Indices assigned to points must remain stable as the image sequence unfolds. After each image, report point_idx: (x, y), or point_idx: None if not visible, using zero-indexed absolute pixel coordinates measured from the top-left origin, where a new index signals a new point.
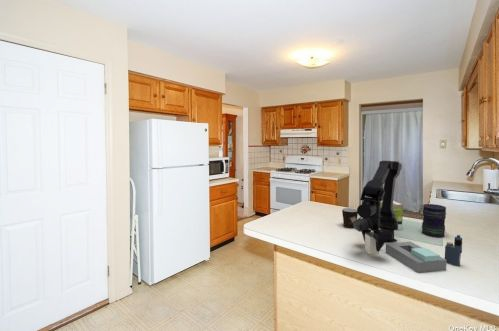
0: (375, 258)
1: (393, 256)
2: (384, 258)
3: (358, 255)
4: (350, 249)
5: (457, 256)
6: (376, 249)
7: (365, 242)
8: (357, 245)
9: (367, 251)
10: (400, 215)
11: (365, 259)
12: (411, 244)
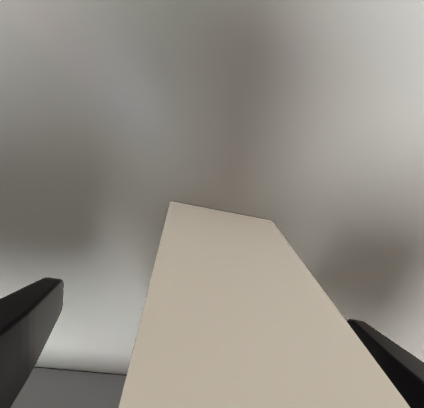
0: (47, 183)
1: None
2: (25, 277)
3: (203, 20)
4: (406, 74)
5: None
6: (39, 293)
7: (314, 300)
8: (417, 252)
9: (217, 217)
10: None
11: (47, 10)
12: None
